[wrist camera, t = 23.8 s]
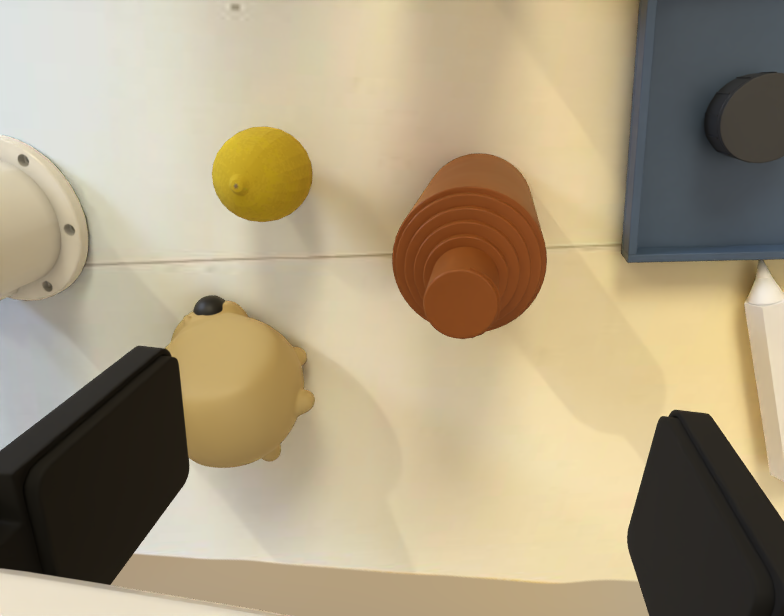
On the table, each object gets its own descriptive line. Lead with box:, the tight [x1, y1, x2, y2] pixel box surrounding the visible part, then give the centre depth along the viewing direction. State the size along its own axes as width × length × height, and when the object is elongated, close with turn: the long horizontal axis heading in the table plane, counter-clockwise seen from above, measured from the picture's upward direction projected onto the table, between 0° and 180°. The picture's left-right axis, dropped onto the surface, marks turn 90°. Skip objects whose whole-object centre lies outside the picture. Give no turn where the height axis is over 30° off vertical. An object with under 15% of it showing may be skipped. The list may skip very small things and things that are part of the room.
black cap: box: [704, 72, 784, 163], centre depth 30 cm, size 4×4×3 cm
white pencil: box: [744, 260, 784, 481], centre depth 36 cm, size 3×2×16 cm
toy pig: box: [165, 296, 315, 468], centre depth 39 cm, size 10×12×11 cm
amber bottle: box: [392, 154, 547, 339], centre depth 29 cm, size 7×7×17 cm
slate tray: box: [621, 0, 784, 263], centre depth 31 cm, size 16×12×2 cm
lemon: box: [212, 127, 312, 222], centre depth 34 cm, size 6×6×8 cm
